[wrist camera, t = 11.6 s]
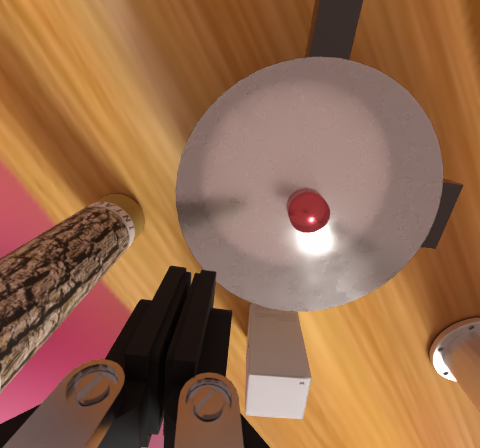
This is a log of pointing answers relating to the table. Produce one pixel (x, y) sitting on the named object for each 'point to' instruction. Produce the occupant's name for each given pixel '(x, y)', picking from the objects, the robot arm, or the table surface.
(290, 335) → the supplement box
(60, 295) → the brown cylindrical piece
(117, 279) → the table surface
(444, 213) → the pressure cooker pot
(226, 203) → the cooker lid
